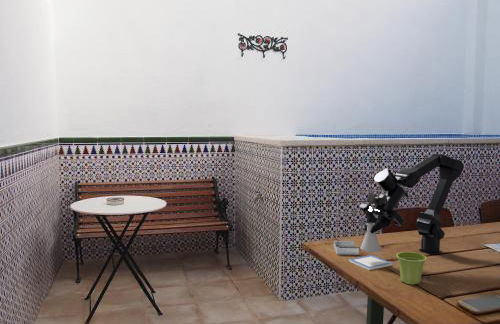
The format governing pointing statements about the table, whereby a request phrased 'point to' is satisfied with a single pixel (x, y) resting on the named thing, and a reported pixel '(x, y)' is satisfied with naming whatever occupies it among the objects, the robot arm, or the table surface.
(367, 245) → the flask
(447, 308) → the table surface
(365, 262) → the white tile
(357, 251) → the grey u-shaped bracket
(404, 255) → the plant pot
